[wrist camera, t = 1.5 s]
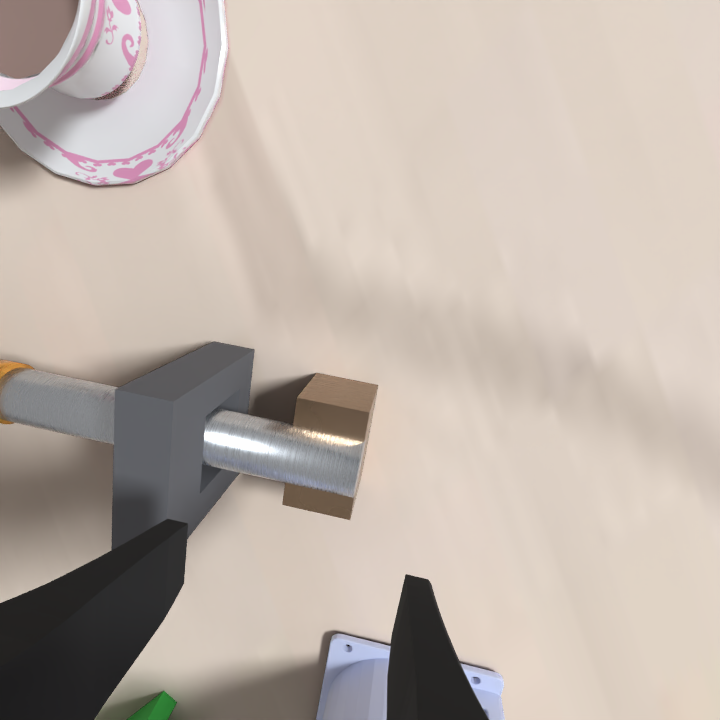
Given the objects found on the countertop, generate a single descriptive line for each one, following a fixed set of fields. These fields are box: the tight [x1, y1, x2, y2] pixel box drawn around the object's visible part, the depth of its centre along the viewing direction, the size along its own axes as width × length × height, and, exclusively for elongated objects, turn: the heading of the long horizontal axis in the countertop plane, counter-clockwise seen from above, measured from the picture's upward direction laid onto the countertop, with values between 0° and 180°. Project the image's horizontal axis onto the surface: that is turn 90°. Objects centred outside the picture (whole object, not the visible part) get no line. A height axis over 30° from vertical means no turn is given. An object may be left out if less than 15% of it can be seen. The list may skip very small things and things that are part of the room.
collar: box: [112, 342, 254, 550], centre depth 19 cm, size 2×6×7 cm, turn 170°
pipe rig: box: [0, 360, 378, 520], centre depth 21 cm, size 24×5×5 cm, turn 81°
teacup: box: [0, 0, 229, 186], centre depth 17 cm, size 12×12×6 cm
